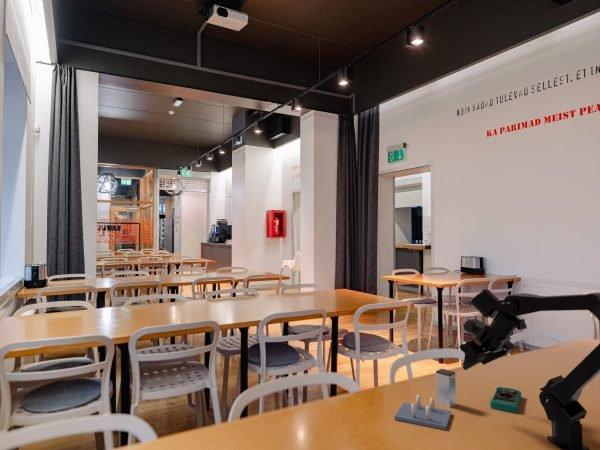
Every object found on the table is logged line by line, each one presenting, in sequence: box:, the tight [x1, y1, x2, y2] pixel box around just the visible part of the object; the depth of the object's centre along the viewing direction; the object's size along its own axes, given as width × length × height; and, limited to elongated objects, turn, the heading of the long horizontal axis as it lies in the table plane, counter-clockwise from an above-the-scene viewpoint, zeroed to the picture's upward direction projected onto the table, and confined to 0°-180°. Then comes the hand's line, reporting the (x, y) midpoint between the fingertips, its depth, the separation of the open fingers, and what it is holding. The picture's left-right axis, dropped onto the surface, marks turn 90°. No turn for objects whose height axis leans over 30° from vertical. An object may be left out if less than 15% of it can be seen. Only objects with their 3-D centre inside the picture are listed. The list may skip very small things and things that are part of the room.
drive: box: [435, 368, 457, 408], centre depth 124 cm, size 4×4×10 cm
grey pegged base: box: [394, 394, 452, 431], centre depth 115 cm, size 14×11×4 cm
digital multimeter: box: [490, 386, 522, 414], centre depth 125 cm, size 7×15×3 cm, turn 146°
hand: (473, 366), depth 121 cm, fingers open, 9 cm apart
